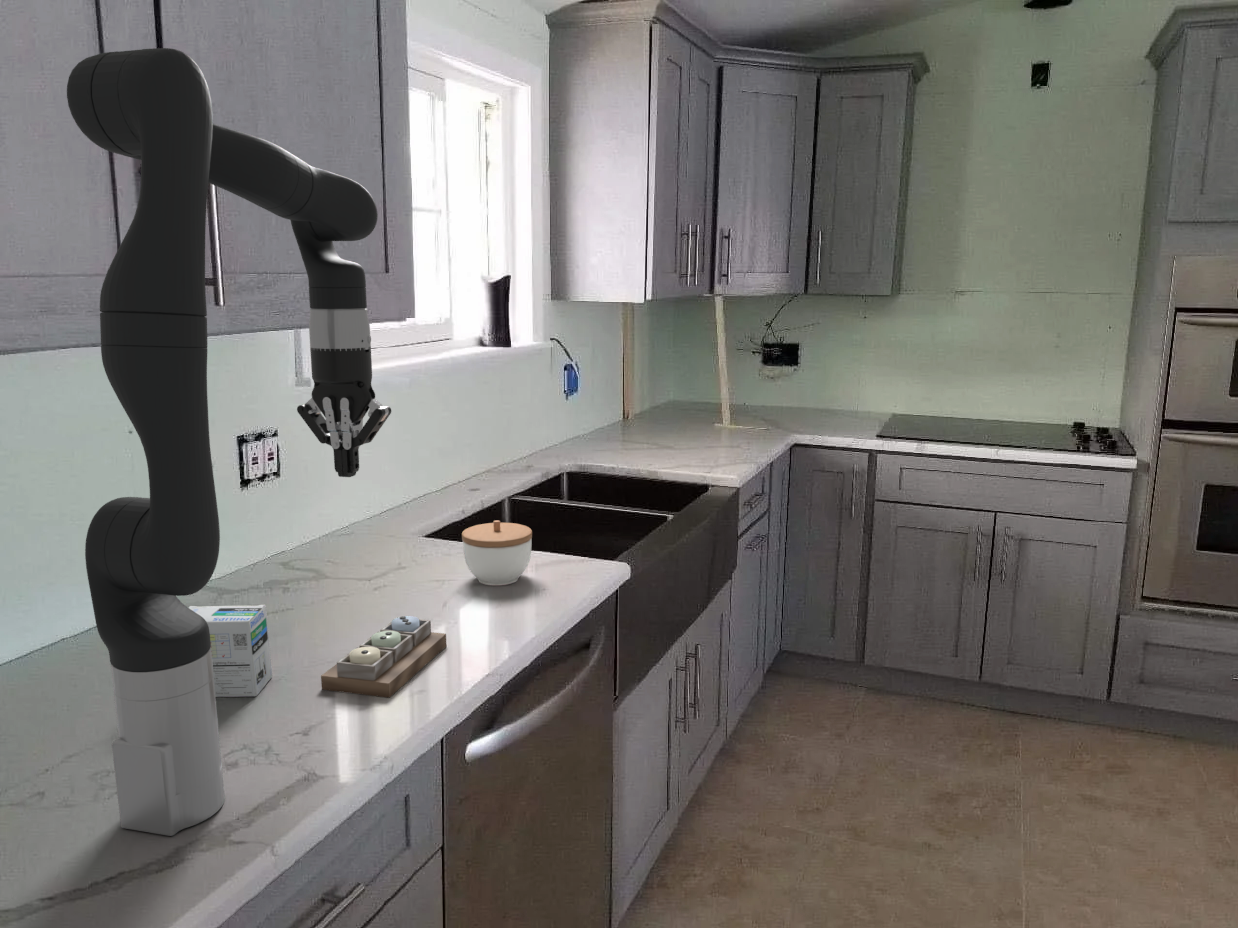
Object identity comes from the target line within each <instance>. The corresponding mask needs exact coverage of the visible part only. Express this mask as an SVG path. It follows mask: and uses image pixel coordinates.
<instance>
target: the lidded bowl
mask: <svg viewBox="0 0 1238 928" xmlns="http://www.w3.org/2000/svg"><path fill="white" fill-rule="evenodd" d="M532 538H533V530H532V529H531V528H530V527H529V526H527V525H524V524H520V523H515V522H514V523H513V522H501V520H495V519H494V520H493V522H488V523H482V524H481V523H479V524H475V525H473V526H469V527H468V528H465V529H464V530H463V531H462V533H461V540H462V550H463V556H464V557H463V558H464V560H465V564H466V567H467V569H468V570H469V571H470V573H471V574H472V575H473V577H475V578H476V579H477V580H478V582H479V583H480V584H481V585H485V586H491V587H492V586H493V587H494V586H500V587H501V586H507V585H511V584H514V583H516V582H517V581H518V580H519V577H521V576H522V575H523V574H524V573H525V571H526V570H527V567H528V566H529V563H530V559H531V554H532Z"/></svg>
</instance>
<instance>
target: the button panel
mask: <svg viewBox="0 0 1238 928" xmlns="http://www.w3.org/2000/svg"><path fill="white" fill-rule="evenodd" d="M398 617H399V616H398ZM398 617H396V618H398ZM431 622H432V621H431V620H429V619H419V624H420V627H419V628H418V629H416V630H415V631H414V632H405V631H396V632H399V633H400V635H401V642H400V643H399V644H398V645H397V646H395V647H394V648H389V647H379V646H372V639H371V637H372V636H371V637H369V638H367V639H366V640H365V641H364V642H362V643H361V644H360V645H359V647H355V649H357V648H361V647H376V648H378V649H379V650H380V659H379V660H378V661H377V662H375V663H374V664H373V665H367V664H358V663H350V652H349V653H347V654H346V655H345V656H344V657H342V658H341V659H340V660H338V661H337V662H336V664H334V665H333V666H332V667H331V668H330V669H328V670H327V671H324V673H323V674H321V675H320V681H321V683H320V684H321V690H323V691H329V692H331V691H332V692H337V693H338V692H340V693H348V694H357V695H363V696H364V695H365V696H372V697H380V698H381V697H382V698H383V697H384V698H389V699H390V698H391V697H392V696H393V695H395V693H397V692H398V691H399V690H400V689H401V688H403V686H405V684H407V683H408V682H409V681H410V680H411V679H412V678H414V677H415V675H417V674H418V672H420V671H421V670H422V669H424V668H425V667H426V665H428V663H430V662H431V661H432V660H433V659H434V658H435V657H436V656H437V655H439V654H440V653H441V652H443V650H444V649H445V648H446V647H447V633H441V632H432V626H431ZM382 631H395V630H392V621H390V622H389V623H387V624H386V625H385V626H384V627H383V628H381V629H380V630H379V631H377V632H376V633H378V632H382Z"/></svg>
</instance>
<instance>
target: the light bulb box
mask: <svg viewBox="0 0 1238 928" xmlns="http://www.w3.org/2000/svg"><path fill="white" fill-rule="evenodd" d="M187 607H188V606H187ZM188 608H189V609H191V610H192V611H194V612H195V613H197V614H199V615H200V616H201V617H203V618H204V619H205V621H206V622H207V624H208V626H209V632H210V641H211V652H212V663H213V675H214V686H215V697H216V698H225V697H226V698H228V697H231V698H232V697H234V698H236V697H237V698H239V697H240V698H241V697H257V696H258V695H259V694H260V693H261V692H262V690H263V689H264V688H265V686H266V685H267V684H268V682H269V681H270V680H271V679H272V677H273V667H272V658H271V646H270V636H269V635H270V634H269V625H268V613H267V606H266V604H247V605H212V606H211V605H204V606H196V605H189V607H188Z"/></svg>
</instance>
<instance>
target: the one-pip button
mask: <svg viewBox="0 0 1238 928" xmlns="http://www.w3.org/2000/svg"><path fill="white" fill-rule="evenodd" d="M356 648H357V647H356ZM356 648H354V649H352V650H351V651H350V652H349V653H350V663H358V664H367V665H373V664H374V663H375V662H377V661H378V660H379V659H380V650H379V649H378V648H376V647H361V648H357V649H356Z"/></svg>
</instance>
